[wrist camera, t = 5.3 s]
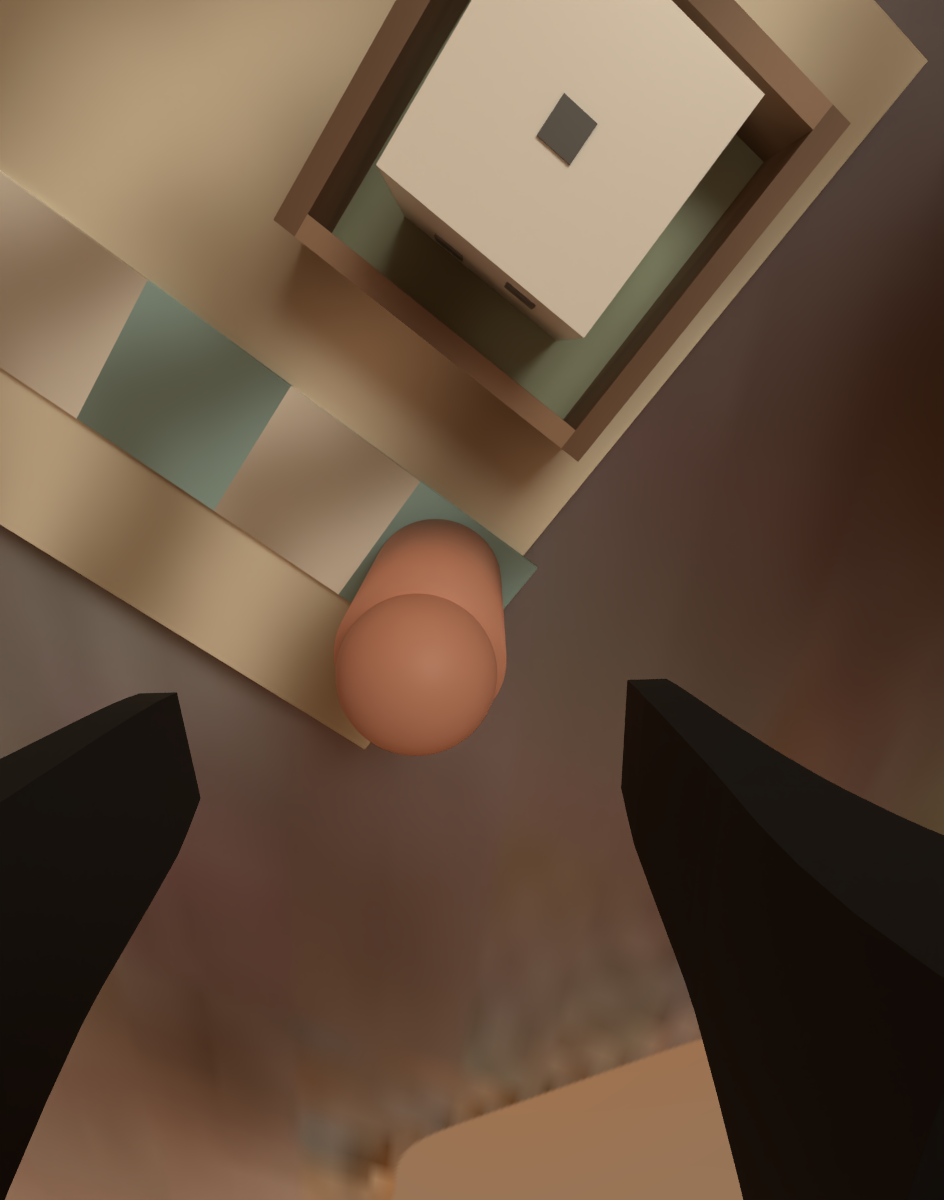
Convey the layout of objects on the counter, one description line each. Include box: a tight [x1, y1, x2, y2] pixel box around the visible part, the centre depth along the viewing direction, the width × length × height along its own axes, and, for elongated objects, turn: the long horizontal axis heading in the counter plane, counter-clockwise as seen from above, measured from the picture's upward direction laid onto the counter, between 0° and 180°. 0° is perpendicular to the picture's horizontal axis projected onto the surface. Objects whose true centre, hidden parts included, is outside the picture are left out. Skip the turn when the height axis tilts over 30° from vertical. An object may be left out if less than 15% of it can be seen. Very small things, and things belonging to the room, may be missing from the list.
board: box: [0, 0, 927, 749], centre depth 15 cm, size 18×22×4 cm
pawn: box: [334, 519, 507, 756], centre depth 15 cm, size 4×4×7 cm
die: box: [376, 0, 765, 341], centre depth 13 cm, size 4×4×4 cm
